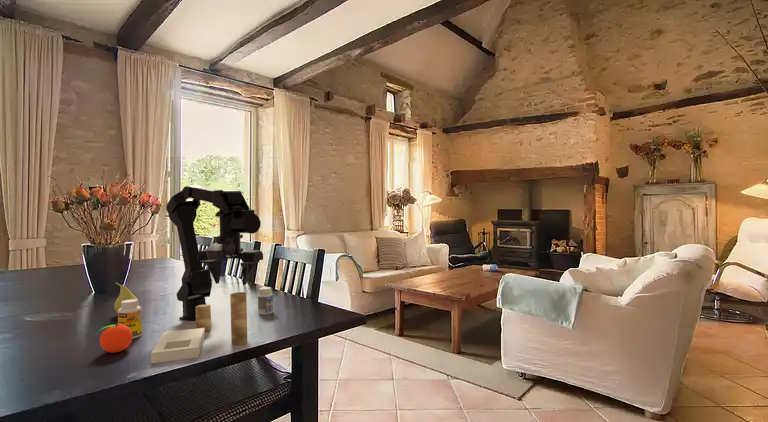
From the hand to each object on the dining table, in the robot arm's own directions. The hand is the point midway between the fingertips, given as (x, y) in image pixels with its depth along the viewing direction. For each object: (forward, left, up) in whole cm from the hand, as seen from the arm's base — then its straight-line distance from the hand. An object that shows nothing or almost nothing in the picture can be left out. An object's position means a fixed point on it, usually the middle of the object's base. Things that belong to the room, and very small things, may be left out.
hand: (230, 284), depth 119 cm
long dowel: (+11, -11, -13) cm, 20 cm away
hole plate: (-1, -19, -13) cm, 23 cm away
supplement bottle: (-22, -14, -13) cm, 30 cm away
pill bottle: (+2, +16, -13) cm, 20 cm away
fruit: (-43, +3, -13) cm, 45 cm away
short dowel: (-6, -4, -13) cm, 15 cm away
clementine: (-16, -24, -13) cm, 32 cm away
